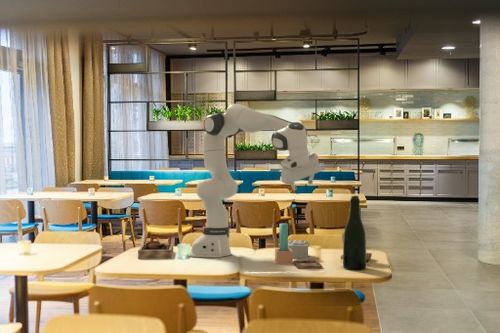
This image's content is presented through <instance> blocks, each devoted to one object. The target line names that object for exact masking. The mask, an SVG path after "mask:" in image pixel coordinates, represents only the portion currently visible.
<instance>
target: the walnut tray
mask: <svg viewBox="0 0 500 333" xmlns="http://www.w3.org/2000/svg"><path fill="white" fill-rule="evenodd" d="M293 264H294V266H295V268H296V269H297V270H308V269H309V270H318V269H319V270H322V269H323V265H322V263H320V262H319V261H318V259H297V260H295V259H293Z"/></svg>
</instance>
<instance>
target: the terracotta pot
mask: <svg viewBox="0 0 500 333" xmlns="http://www.w3.org/2000/svg"><path fill="white" fill-rule="evenodd" d="M274 261H275V264H278V265H281V264H282V265H286V264H287V265H288V264H291V265H292V264H294V259H293V251H292V250H291V249H288V251H279V248H274Z"/></svg>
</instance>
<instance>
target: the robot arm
mask: <svg viewBox="0 0 500 333" xmlns="http://www.w3.org/2000/svg"><path fill="white" fill-rule="evenodd" d="M203 129H204V134H203V140H202V141H203V142H202V151H203V162H204V167H205V169H206V170H207V171H208V172H209V173H210V176H211V177H210V178H206V179H203V180H201V181H199V182H198V183H197V185H196V191H195V192H196V195H197V197H198V198H199V199H200V200H201V201H202V202H203V206H204V208H205V215H206V216H205V217H206V219H205V220H206V226H202V227H201V230H202V234H201V235H200V236H199V237H197V238H196V239H195V240H194V241H193V242H192V244H191V249H190V251H191V252H190V256H188V257H193V258H221V257H228V256H231V255H232V251H231V246H230V239H229V238H230V226H229V212H228V209H227V208H226V207H224V204H223V200H225V199H226V200H227V199H230V198H232V197H234V196H235V195H236V194H237V193H238V189H239V187H238V184H237V181H236V180H235V179H234V178H233V177H232V175H231V173H230V171H229V169H228V166H227V165H228V164H227V157H226V145H225V140H226V138H229V139H230V138H232V137H234V136H237V135H238V134H240V133H241V132H242V131H243V132H246V133H251V134H253V133H254V134H255V133H257V132H261V131H267V130H273V131H274V132H273V133H272V135H271V144H272V147H273V148H274V149H276V150H277V151H279V152H280V151H283V152H285V151H288V156H286V158H284V159H283V160H282V161H281V162H280V166H281V170H280V176H281V178H280V180H281V182H282V183H283V184H285V185H290V186H291V189H292V191H297V190H298V188H297V185H294V184H295V183H296V182H297V181H300V180H303V179H305V178H308V177H309V179H307V184H308V185H312V184H314V183H313V182H314V181H313V180H314V177H315V174H317V173H320V171H321V166H320V161H319V157H318V156H319V155H318V154H317V153H311V154H310V153H309V152H310V151H309V148H308V130H307V128H306V127H305V126H304V124H302V123H301V122H298V121H296V122H294V121H293V122H292V121H290V120H286V119H284V118H281V117H278V116H275V115H273V114H269V113H265V112H260V111H257V110H254V109H253V108H250V107H248V106H246V105H243V104H239V103H232V104H230V105H229V106H228V107H227V109H226V110H225V112H224V113H221V112H217V113H212V114H209V115H207V116H206V117H205V118H204V121H203Z"/></svg>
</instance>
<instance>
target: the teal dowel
mask: <svg viewBox="0 0 500 333" xmlns="http://www.w3.org/2000/svg"><path fill="white" fill-rule="evenodd" d="M278 235H279V246H278V247H279V248H278V249H279V251H288V242H289V224H288V223H279V234H278Z"/></svg>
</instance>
